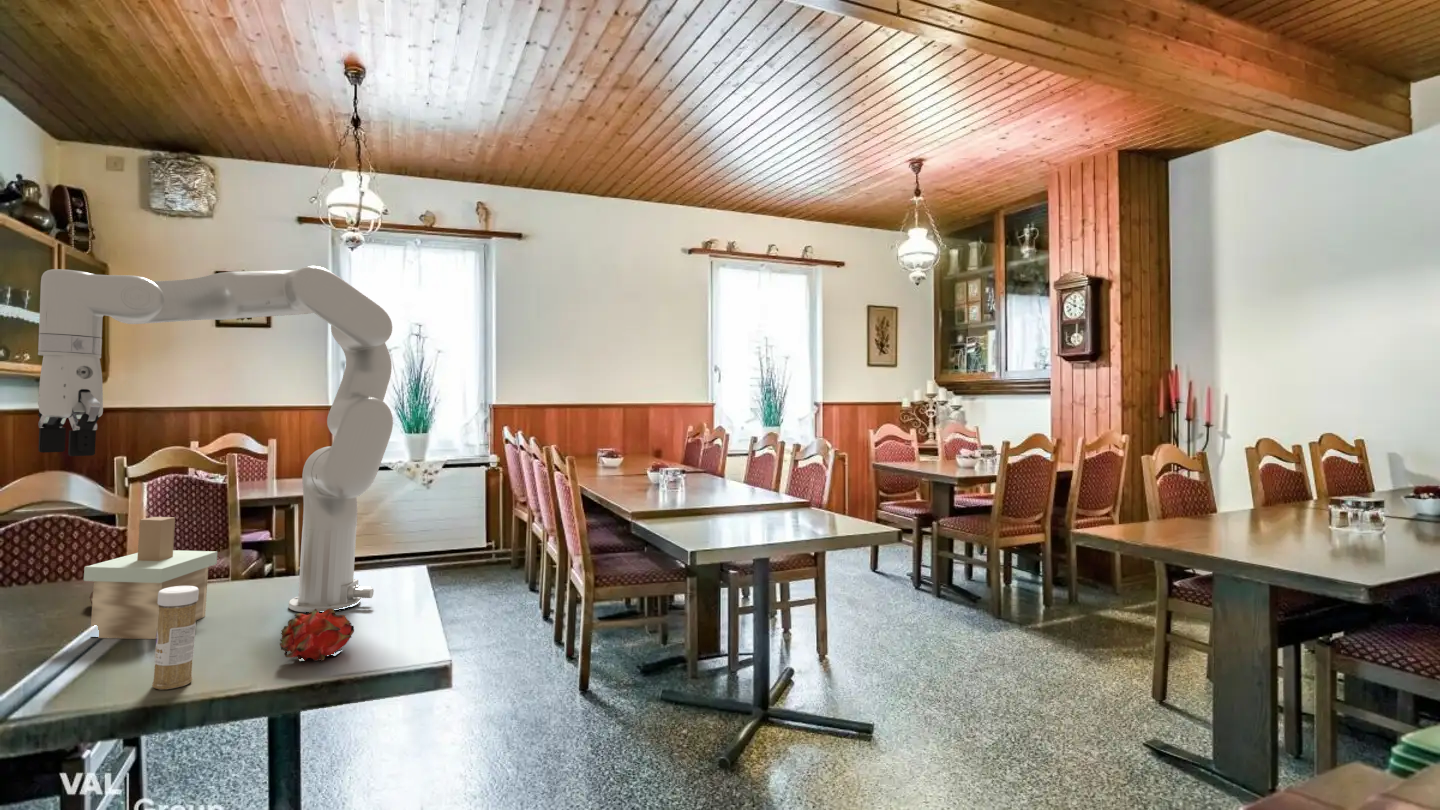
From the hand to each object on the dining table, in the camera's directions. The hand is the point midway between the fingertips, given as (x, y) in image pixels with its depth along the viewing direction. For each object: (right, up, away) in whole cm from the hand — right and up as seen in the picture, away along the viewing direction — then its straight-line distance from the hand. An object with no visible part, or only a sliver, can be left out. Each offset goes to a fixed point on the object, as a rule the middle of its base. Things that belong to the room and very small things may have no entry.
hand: (66, 453), depth 114 cm
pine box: (+6, -31, +9) cm, 33 cm away
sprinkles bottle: (+29, -32, -15) cm, 45 cm away
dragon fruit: (+41, -33, -2) cm, 53 cm away
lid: (+7, -21, +9) cm, 24 cm away
